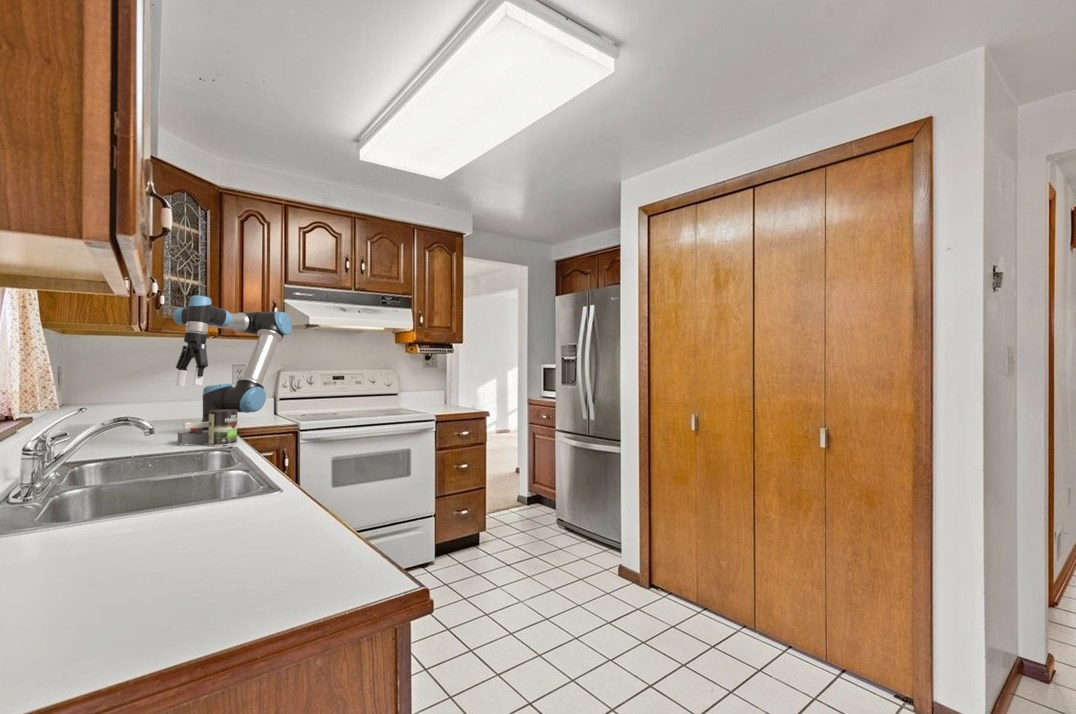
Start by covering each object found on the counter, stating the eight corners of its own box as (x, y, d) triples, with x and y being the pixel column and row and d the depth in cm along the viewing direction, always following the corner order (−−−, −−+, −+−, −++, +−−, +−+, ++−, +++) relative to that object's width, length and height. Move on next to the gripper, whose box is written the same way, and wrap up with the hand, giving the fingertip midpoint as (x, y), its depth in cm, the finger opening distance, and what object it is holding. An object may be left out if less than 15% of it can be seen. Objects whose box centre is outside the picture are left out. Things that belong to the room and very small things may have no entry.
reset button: (189, 432, 222) (189, 423, 222) (200, 432, 224) (200, 423, 224) (191, 433, 219) (191, 424, 219) (202, 433, 221) (202, 423, 221)
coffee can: (243, 443, 218) (243, 409, 218) (223, 447, 208) (224, 411, 208) (222, 442, 220) (222, 408, 221) (201, 446, 210) (202, 410, 210)
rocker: (183, 427, 215) (183, 422, 215) (211, 425, 222) (211, 420, 222) (184, 428, 212) (184, 423, 212) (213, 426, 219) (213, 421, 219)
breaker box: (177, 441, 220) (177, 427, 220) (210, 439, 228) (211, 425, 228) (182, 445, 210) (182, 430, 210) (216, 442, 218) (216, 428, 218)
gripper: (170, 334, 216) (163, 385, 213) (202, 329, 203) (195, 383, 200) (190, 337, 223) (183, 387, 219) (222, 332, 210) (215, 385, 206)
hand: (189, 385), depth 209 cm, fingers open, 13 cm apart
